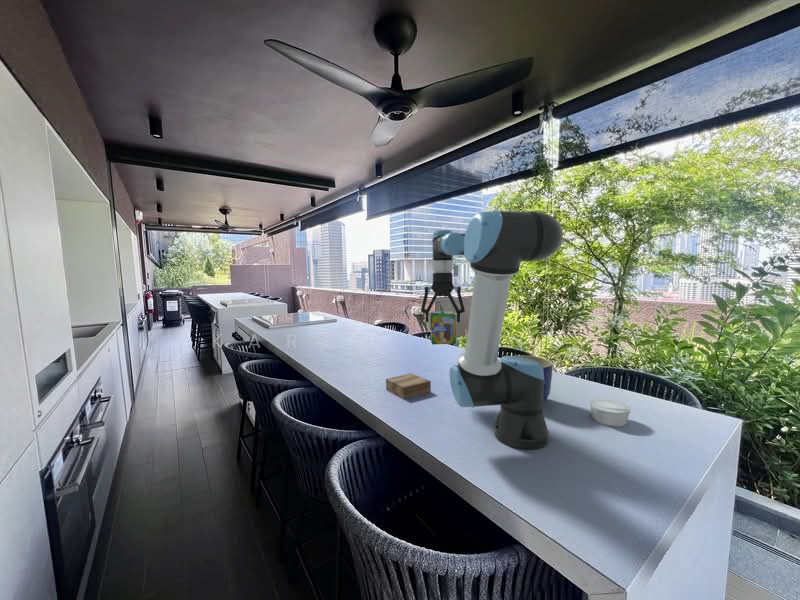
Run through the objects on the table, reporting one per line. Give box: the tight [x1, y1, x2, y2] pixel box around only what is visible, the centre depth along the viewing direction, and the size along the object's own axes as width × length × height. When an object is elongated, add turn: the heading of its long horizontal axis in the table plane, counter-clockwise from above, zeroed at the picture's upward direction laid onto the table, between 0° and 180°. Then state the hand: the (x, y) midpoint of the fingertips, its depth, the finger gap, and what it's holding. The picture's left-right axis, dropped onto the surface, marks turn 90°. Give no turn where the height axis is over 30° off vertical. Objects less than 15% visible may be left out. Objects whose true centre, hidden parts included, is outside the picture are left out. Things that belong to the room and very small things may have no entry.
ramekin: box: [589, 398, 631, 428], centre depth 110 cm, size 11×11×5 cm
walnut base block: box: [385, 373, 432, 400], centre depth 140 cm, size 13×13×5 cm
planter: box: [516, 355, 554, 403], centre depth 127 cm, size 17×17×15 cm
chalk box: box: [430, 303, 457, 345], centre depth 132 cm, size 9×9×15 cm
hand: (442, 330), depth 132 cm, fingers closed on chalk box, 9 cm apart
